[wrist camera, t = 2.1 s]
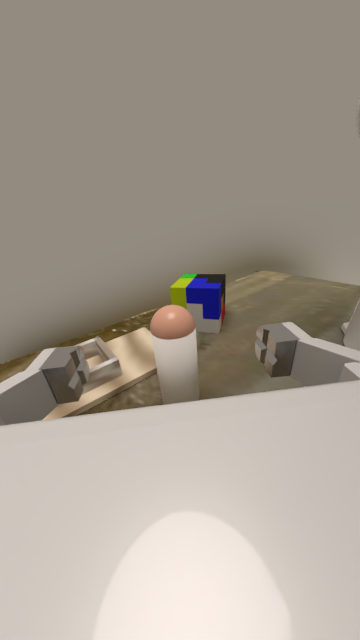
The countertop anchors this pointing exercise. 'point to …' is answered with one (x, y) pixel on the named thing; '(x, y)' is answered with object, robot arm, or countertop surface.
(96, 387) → the jig cradle
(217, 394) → the countertop surface
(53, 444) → the robot arm
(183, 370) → the dome-capped white cylinder
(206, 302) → the puzzle toy
